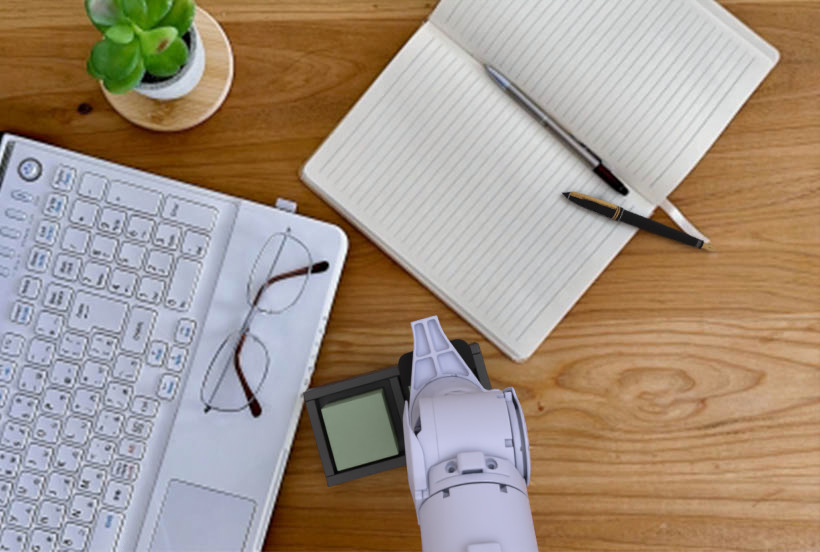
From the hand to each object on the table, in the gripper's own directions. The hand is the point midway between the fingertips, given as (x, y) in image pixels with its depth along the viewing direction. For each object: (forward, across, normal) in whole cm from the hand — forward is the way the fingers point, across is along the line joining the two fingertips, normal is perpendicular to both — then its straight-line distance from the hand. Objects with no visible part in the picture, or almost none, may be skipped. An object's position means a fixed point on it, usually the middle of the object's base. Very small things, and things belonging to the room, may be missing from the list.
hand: (445, 403), depth 67 cm
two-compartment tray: (+3, 0, +4) cm, 5 cm away
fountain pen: (+3, +10, -20) cm, 23 cm away
